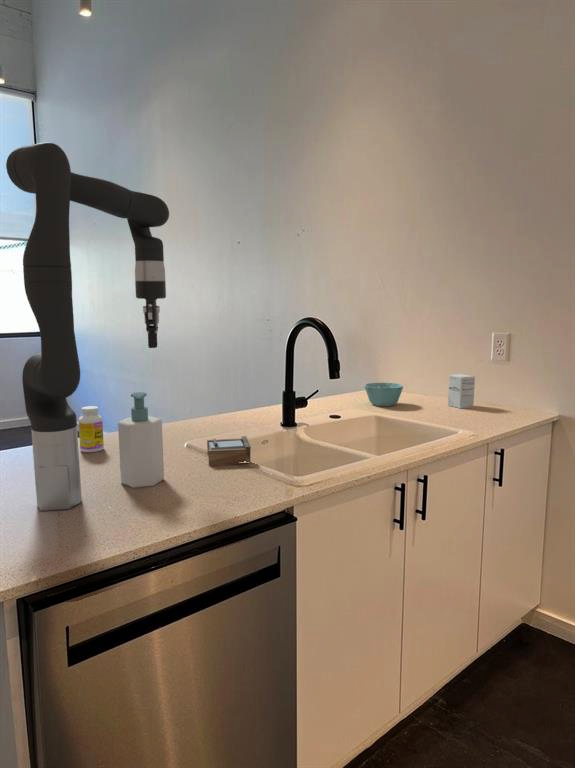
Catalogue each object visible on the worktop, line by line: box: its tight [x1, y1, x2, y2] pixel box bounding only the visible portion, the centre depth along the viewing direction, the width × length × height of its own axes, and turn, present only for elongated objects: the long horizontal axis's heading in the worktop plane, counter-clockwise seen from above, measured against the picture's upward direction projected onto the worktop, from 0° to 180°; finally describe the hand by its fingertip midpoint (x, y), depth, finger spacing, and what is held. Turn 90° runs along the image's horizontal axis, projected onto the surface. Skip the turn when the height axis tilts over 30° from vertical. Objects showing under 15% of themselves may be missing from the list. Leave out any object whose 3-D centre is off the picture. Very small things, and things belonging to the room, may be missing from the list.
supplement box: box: [447, 373, 476, 409], centre depth 231 cm, size 7×7×13 cm
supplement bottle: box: [78, 405, 105, 454], centre depth 169 cm, size 7×7×13 cm
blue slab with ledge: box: [209, 438, 244, 450], centre depth 161 cm, size 6×9×6 cm, turn 103°
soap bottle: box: [117, 391, 165, 489], centre depth 140 cm, size 10×9×22 cm
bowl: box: [363, 381, 404, 407], centre depth 236 cm, size 16×16×8 cm
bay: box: [206, 435, 252, 467], centre depth 161 cm, size 12×11×5 cm
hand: (152, 347), depth 149 cm, fingers closed
